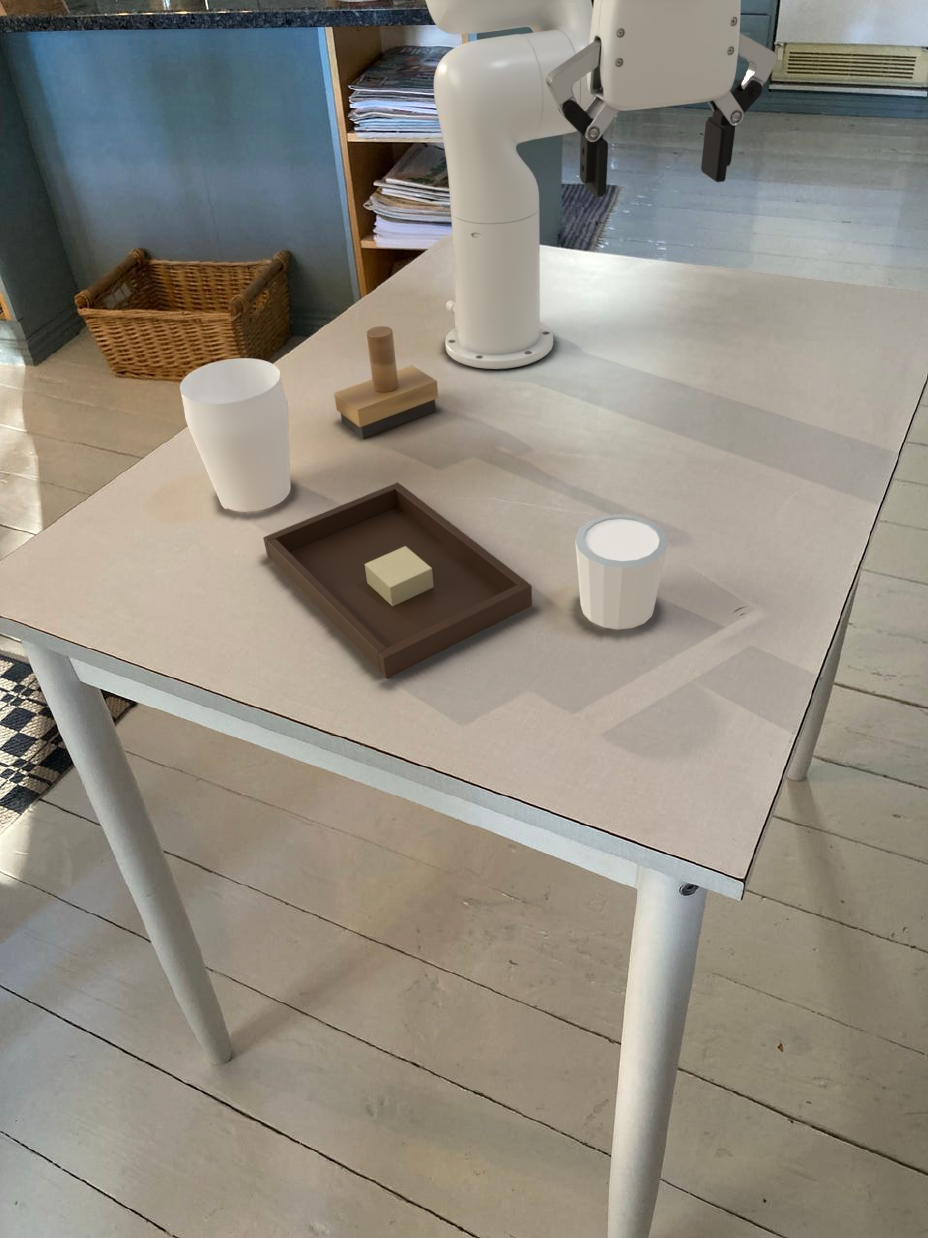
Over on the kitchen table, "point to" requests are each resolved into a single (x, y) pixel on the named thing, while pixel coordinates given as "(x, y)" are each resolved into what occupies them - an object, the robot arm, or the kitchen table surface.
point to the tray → (385, 635)
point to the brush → (386, 391)
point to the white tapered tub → (619, 569)
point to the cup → (240, 430)
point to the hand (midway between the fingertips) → (654, 184)
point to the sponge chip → (399, 575)
